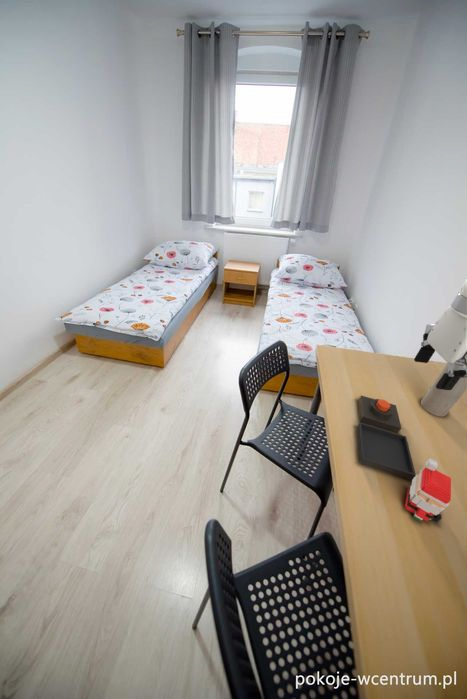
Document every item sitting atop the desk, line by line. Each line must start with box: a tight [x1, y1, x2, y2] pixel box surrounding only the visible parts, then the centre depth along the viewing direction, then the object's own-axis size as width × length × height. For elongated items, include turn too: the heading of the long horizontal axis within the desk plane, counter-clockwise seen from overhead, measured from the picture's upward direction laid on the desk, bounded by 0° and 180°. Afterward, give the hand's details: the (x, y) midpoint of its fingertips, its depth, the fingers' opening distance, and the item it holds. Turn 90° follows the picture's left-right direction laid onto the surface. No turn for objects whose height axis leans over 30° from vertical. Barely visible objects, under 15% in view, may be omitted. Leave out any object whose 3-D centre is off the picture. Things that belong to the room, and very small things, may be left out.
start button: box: [376, 399, 391, 412], centre depth 86 cm, size 4×4×2 cm
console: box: [357, 395, 402, 434], centre depth 87 cm, size 11×10×4 cm
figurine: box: [404, 458, 452, 523], centre depth 62 cm, size 8×7×12 cm
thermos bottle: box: [420, 360, 467, 417], centre depth 87 cm, size 8×8×28 cm
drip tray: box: [356, 422, 417, 482], centre depth 77 cm, size 13×13×2 cm
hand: (430, 374), depth 64 cm, fingers open, 9 cm apart
